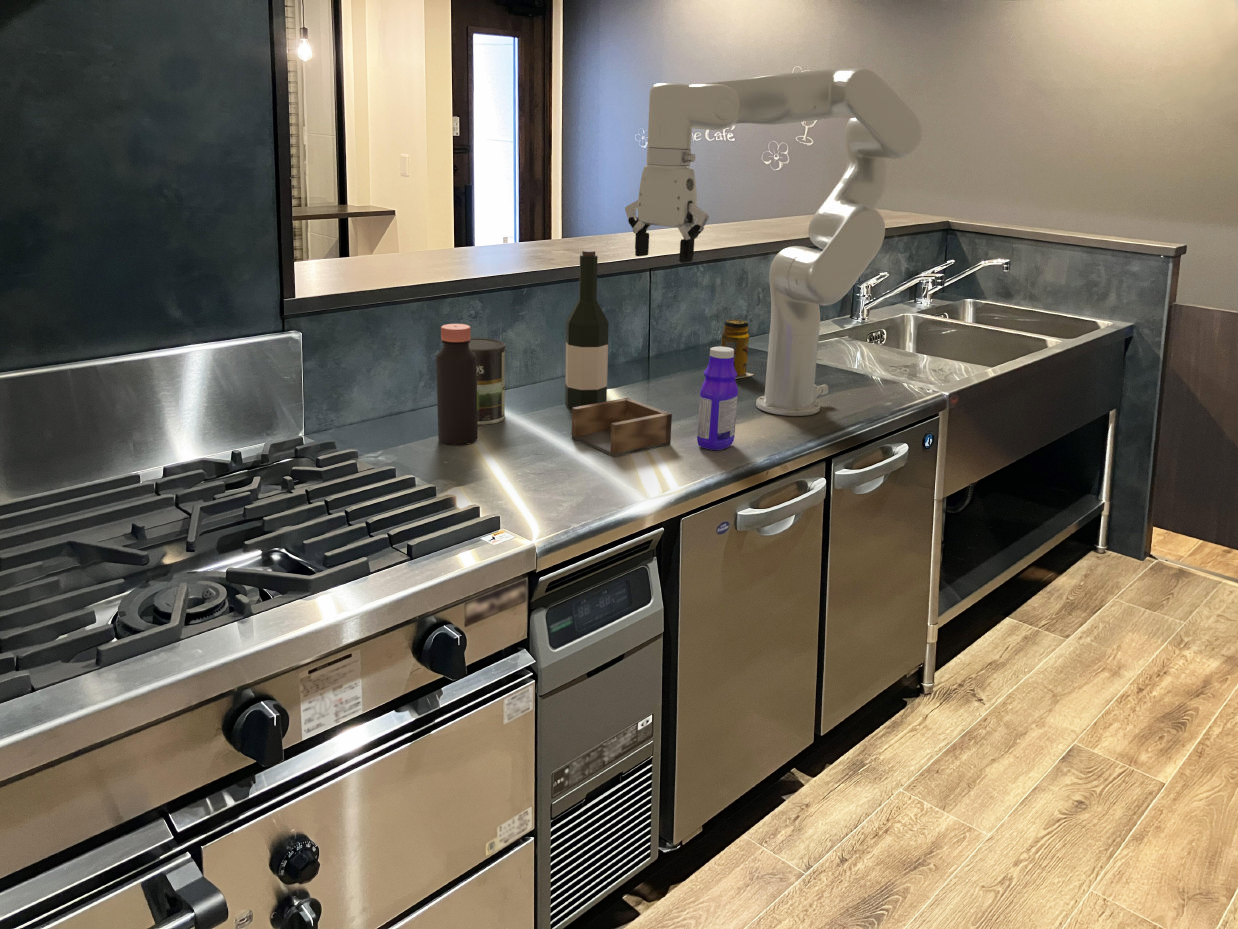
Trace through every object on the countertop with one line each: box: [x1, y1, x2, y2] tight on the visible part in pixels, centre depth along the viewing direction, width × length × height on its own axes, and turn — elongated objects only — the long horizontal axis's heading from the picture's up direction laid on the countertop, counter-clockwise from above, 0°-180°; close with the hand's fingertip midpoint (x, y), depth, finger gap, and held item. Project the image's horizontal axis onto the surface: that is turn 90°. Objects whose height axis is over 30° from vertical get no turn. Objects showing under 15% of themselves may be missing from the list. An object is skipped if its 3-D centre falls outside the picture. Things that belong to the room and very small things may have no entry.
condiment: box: [720, 318, 755, 380], centre depth 229 cm, size 7×8×12 cm
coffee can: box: [469, 337, 506, 426], centre depth 192 cm, size 10×10×14 cm
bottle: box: [696, 346, 739, 451], centre depth 179 cm, size 7×6×17 cm
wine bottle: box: [564, 249, 610, 410], centre depth 199 cm, size 8×8×30 cm
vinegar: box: [435, 323, 479, 446], centre depth 178 cm, size 7×7×20 cm
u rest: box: [571, 397, 673, 458], centre depth 182 cm, size 12×12×6 cm
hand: (663, 258), depth 186 cm, fingers open, 9 cm apart
